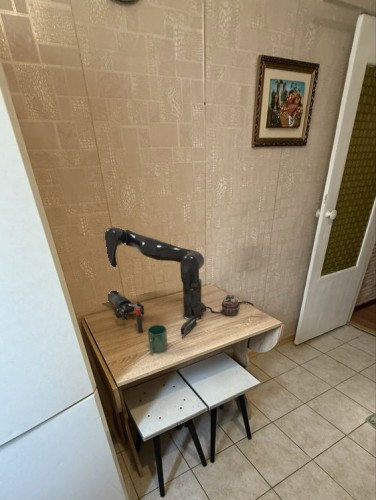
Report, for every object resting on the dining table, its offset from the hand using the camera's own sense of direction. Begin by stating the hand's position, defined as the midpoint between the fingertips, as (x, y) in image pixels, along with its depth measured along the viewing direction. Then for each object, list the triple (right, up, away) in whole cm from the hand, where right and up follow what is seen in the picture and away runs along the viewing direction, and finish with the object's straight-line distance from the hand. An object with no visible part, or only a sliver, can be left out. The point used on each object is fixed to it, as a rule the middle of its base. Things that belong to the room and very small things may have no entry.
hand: (135, 315), depth 134 cm
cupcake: (+48, +2, +15) cm, 50 cm away
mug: (+12, -16, -11) cm, 23 cm away
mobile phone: (+26, -7, +1) cm, 27 cm away
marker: (+3, -8, +1) cm, 8 cm away
